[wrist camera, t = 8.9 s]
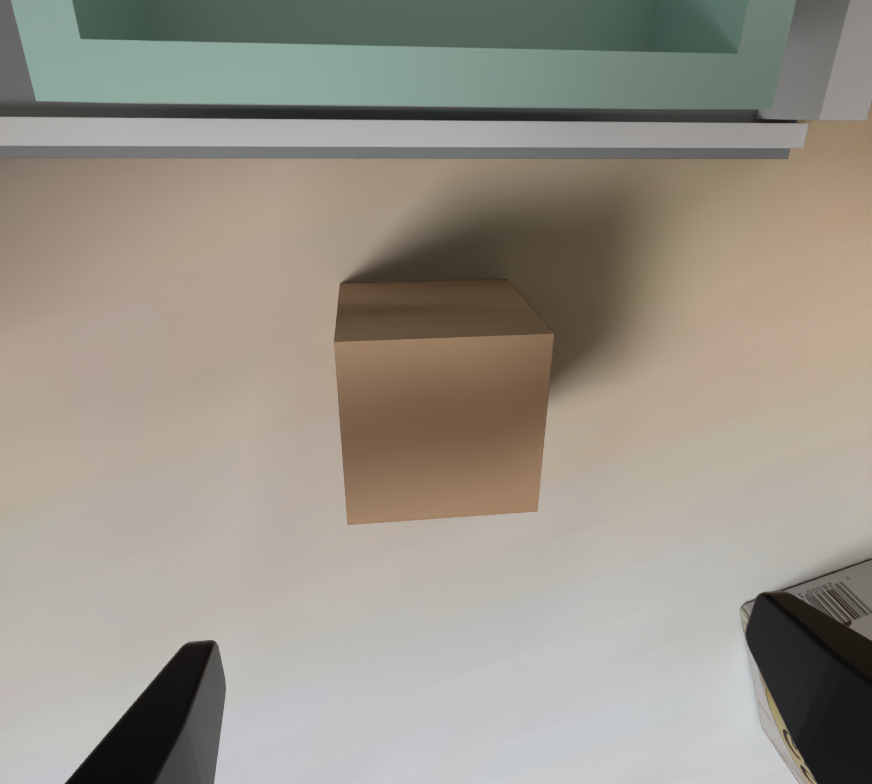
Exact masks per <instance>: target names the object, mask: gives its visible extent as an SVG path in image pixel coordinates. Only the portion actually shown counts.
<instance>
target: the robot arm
mask: <svg viewBox="0 0 872 784" xmlns="http://www.w3.org/2000/svg"><path fill="white" fill-rule="evenodd" d="M745 636H746V641H747V645H748V647H749V650H750V652H751V654H752V656H753V658H754V660H755V662H756V665H757V667H758V669H759V671H760V673H761V675H762V677H763V679H764V682H765V684H766V686H767V688H768V690H769V692H770V694H771V696H772V699H773V701H774V703H775V705H776V707H777V709H778V711H779V713H780V716H781V718H782V720H783V722H784V724H785V726H786V728H787V730H788V732H789V734H790V736H791V738H792V740H793V742H794V744H795V746H796V748H797V749H798V751H799V753H800V755H801V757H802V758H803V760H804V762H805V764H806V765H807V767H808V769H809V771H810V772H811V774H812V776H813V777H814V779H815V781H816V782H817V784H872V640H870V639H868V638H867V637H865V636H863V635H861V634H860V633H858V632H856V631H855V630H853V629H851V628H849V627H848V626H846V625H844V624H842V623H841V622H839V621H837V620H836V619H834V618H832V617H830V616H829V615H827V614H825V613H824V612H822V611H820V610H818V609H817V608H815V607H813V606H811V605H810V604H808V603H806V602H805V601H803V600H801V599H799V598H798V597H796V596H794V595H792V594H791V593H789V592H786V591H773V592H763V593H760V594H759V595H758V596H757V597H756V599H755V601H754V605H753V608H752V611H751V614H750V617H749V620H748V623H747V626H746V631H745ZM225 692H226V683H225V676H224V671H223V666H222V661H221V656H220V652H219V647H218V645H217V643H216V642H215V641H213V640H206V641H194V642H188V643H186V644H185V645H183V646H182V647H181V648H180V649H179V651H178V652H177V653H176V654H175V655H174V657H173V658H172V659H171V660H170V661H169V662H168V664H167V665H166V666H165V667H164V668H163V669H162V671H161V672H160V673H159V674H158V675H157V676H156V678H155V679H154V680H153V681H152V682H151V683H150V685H149V686H148V687H147V688H146V689H145V690H144V692H143V693H142V694H141V695H140V696H139V697H138V699H137V700H136V701H135V702H134V703H133V704H132V706H131V707H130V708H129V709H128V710H127V711H126V713H125V714H124V715H123V716H122V717H121V718H120V720H119V721H118V722H117V723H116V724H115V725H114V727H113V728H112V729H111V730H110V731H109V732H108V734H107V735H106V736H105V737H104V738H103V739H102V741H101V742H100V743H99V744H98V745H97V746H96V748H95V749H94V750H93V751H92V752H91V754H90V755H89V756H88V757H87V758H86V759H85V761H84V762H83V763H82V764H81V765H80V766H79V768H78V769H77V770H76V771H75V772H74V773H73V775H72V776H71V777H70V778H69V779H68V780H67V782H66V783H65V784H214V778H215V771H216V763H217V756H218V748H219V740H220V733H221V725H222V717H223V710H224V702H225Z"/></svg>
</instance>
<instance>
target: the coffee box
mask: <svg viewBox="0 0 872 784" xmlns="http://www.w3.org/2000/svg"><path fill="white" fill-rule="evenodd" d="M784 591H786V592H789V593H791V594H792V595H794V596H796V597H798V598H799V599H801V600H803V601H805V602H806V603H808V604H810V605H811V606H813V607H815V608H817V609H818V610H820V611H822V612H824V613H825V614H827V615H829V616H830V617H832V618H834V619H836V620H837V621H839V622H841V623H842V624H844V625H846V626H848V627H849V628H851V629H853V630H855V631H856V632H858V633H860V634H861V635H863V636H865V637H867V638H868V639H870V640H872V560H869V561H867V562H864V563H861V564H858V565H855V566H852V567H850V568H847V569H844V570H841V571H838V572H835V573H833V574H830V575H827V576H824V577H821V578H818V579H816V580H813V581H810V582H807V583H804V584H801V585H799V586H796V587H793V588H790V589H787V590H784ZM753 605H754V601H752V602H749V603H747V604H744V605H743V606H742V608H741V610H740V612H741V618H742V624H743V630H744V635H745V631H746V626H747V623H748V620H749V617H750V614H751V611H752V608H753ZM745 641H746V636H745ZM746 646H747V651H748V656H749V662H750V667H751V672H752V677H753V683H754V688H755V694H756V699H757V705H758V710H759V715H760V721H761V727H762V729H763V731H764V733H765V734H766V736H767V737H768V738H769V740H770V741H771V743H772V744H773V746H774V747H775V749H776V750H777V752H778V753H779V755H780V756H781V758H782V759H783V761H784V762H785V764H786V765H787V767H788V768H789V770H790V771H791V773H792V774H793V776H794V777H795V779H796V780H797V782H798V783H799V784H817V782H816V781H815V779H814V777H813V776H812V774H811V772H810V771H809V769H808V767H807V765H806V764H805V762H804V760H803V758H802V757H801V755H800V753H799V751H798V749H797V748H796V746H795V744H794V742H793V740H792V738H791V736H790V734H789V732H788V730H787V728H786V726H785V724H784V722H783V720H782V718H781V716H780V713H779V711H778V709H777V707H776V705H775V703H774V701H773V699H772V696H771V694H770V692H769V690H768V688H767V686H766V684H765V682H764V679H763V677H762V675H761V673H760V671H759V669H758V667H757V665H756V662H755V660H754V658H753V656H752V654H751V652H750V650H749V647H748V645H747V641H746Z"/></svg>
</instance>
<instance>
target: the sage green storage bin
mask: <svg viewBox="0 0 872 784" xmlns="http://www.w3.org/2000/svg"><path fill="white" fill-rule="evenodd" d="M11 3H12V7H13V11H14V15H15V19H16V23H17V27H18V31H19V35H20V39H21V43H22V47H23V51H24V55H25V59H26V63H27V66H28V70H29V74H30V78H31V82H32V86H33V90H34V94H35V98H36V101H54V102H95V103H137V104H227V105H319V106H410V107H502V108H594V109H772V105H773V100H774V96H775V91H776V87H777V83H778V78H779V74H780V70H781V65H782V61H783V56H784V52H785V48H786V43H787V39H788V34H789V30H790V26H791V21H792V17H793V13H794V8H795V4H796V0H11Z"/></svg>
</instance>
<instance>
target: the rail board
mask: <svg viewBox="0 0 872 784" xmlns="http://www.w3.org/2000/svg"><path fill="white" fill-rule="evenodd" d="M871 102H872V0H796V4H795V8H794V13H793V17H792V21H791V26H790V30H789V34H788V39H787V43H786V48H785V52H784V56H783V61H782V65H781V70H780V74H779V78H778V83H777V87H776V91H775V96H774V100H773V105H772V109H594V108H502V107H410V106H319V105H227V104H137V103H95V102H54V101H36V98H35V94H34V90H33V86H32V82H31V78H30V74H29V70H28V66H27V63H26V59H25V55H24V51H23V47H22V43H21V39H20V35H19V31H18V27H17V23H16V19H15V15H14V11H13V7H12V3H11V0H0V158H426V159H788V156H789V152H790V148H803V146H804V142H805V138H806V134H807V130H808V126H809V124H805V123H797V120H835V121H866V119H867V116H868V112H869V109H870V106H871Z"/></svg>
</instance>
